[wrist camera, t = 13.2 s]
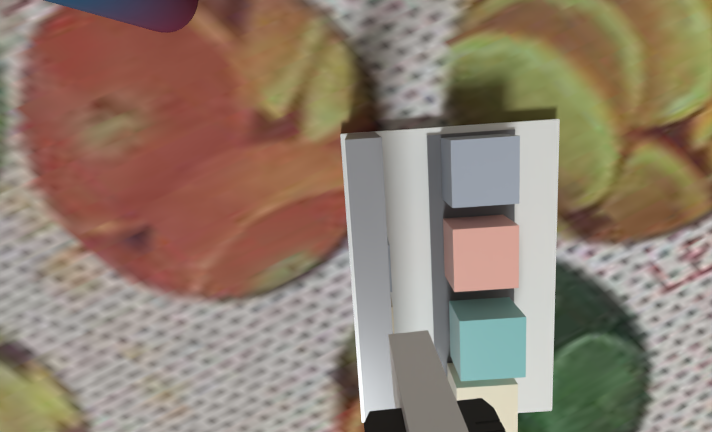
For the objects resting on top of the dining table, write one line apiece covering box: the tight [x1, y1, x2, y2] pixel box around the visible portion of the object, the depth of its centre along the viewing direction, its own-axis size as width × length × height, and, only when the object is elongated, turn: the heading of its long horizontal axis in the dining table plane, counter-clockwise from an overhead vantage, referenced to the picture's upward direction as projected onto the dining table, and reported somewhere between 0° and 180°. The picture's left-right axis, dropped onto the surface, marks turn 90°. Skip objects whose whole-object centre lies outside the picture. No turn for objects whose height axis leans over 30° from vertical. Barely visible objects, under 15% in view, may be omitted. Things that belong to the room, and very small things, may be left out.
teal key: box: [449, 297, 526, 381], centre depth 33 cm, size 4×4×4 cm
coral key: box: [443, 215, 519, 292], centre depth 33 cm, size 4×4×4 cm
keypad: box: [340, 119, 560, 423], centre depth 32 cm, size 16×24×10 cm, turn 4°
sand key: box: [447, 363, 518, 432], centre depth 36 cm, size 4×4×4 cm
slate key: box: [441, 134, 520, 208], centre depth 32 cm, size 4×4×4 cm
